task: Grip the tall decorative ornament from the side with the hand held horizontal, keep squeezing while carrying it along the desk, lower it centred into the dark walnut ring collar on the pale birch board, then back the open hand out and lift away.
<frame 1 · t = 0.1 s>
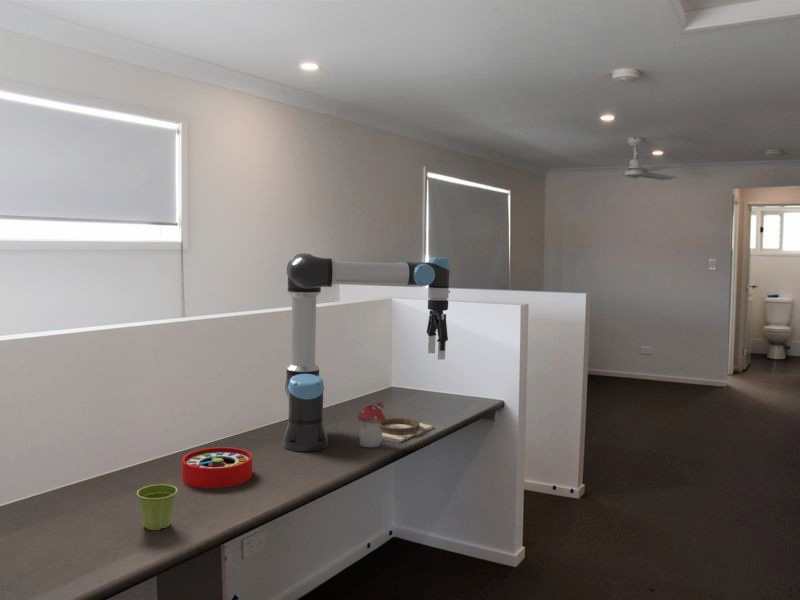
hand: (436, 356, 260), 28 cm above the table, tool pointing down, fingers open, 13 cm apart
toy clock: (217, 477, 207), on the table
plant pot: (157, 526, 171), on the table
decorative ornament: (370, 445, 241), on the table
collar board: (397, 431, 259), on the table
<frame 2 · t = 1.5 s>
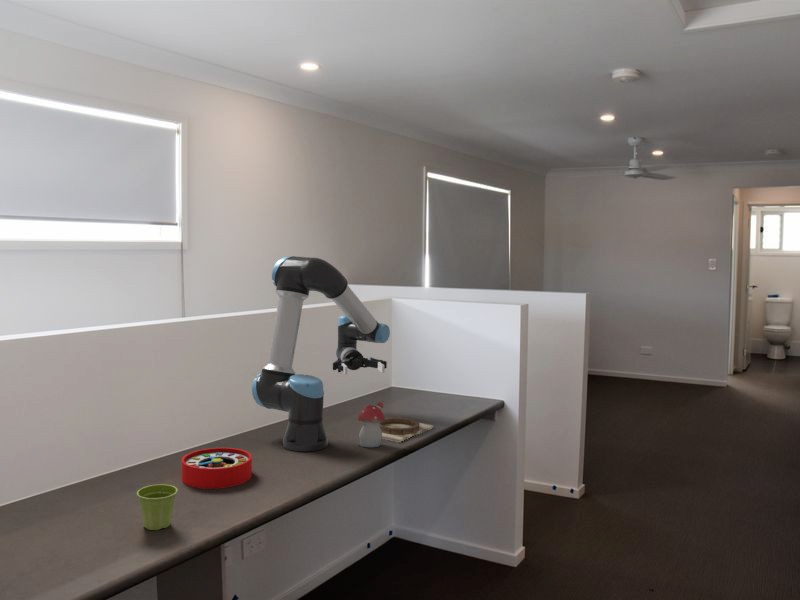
hand: (364, 369, 250), 24 cm above the table, tool horizontal, fingers open, 13 cm apart
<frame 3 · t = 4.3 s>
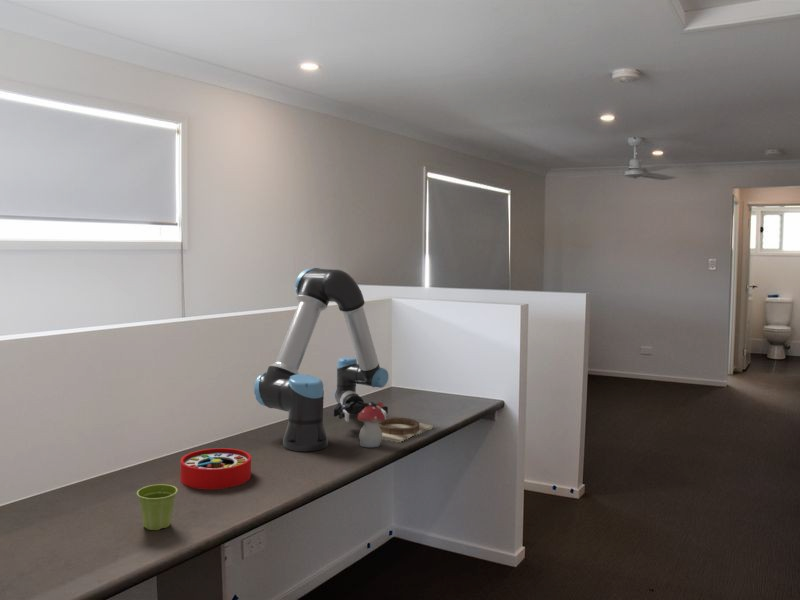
hand: (366, 416, 248), 8 cm above the table, tool horizontal, fingers open, 13 cm apart
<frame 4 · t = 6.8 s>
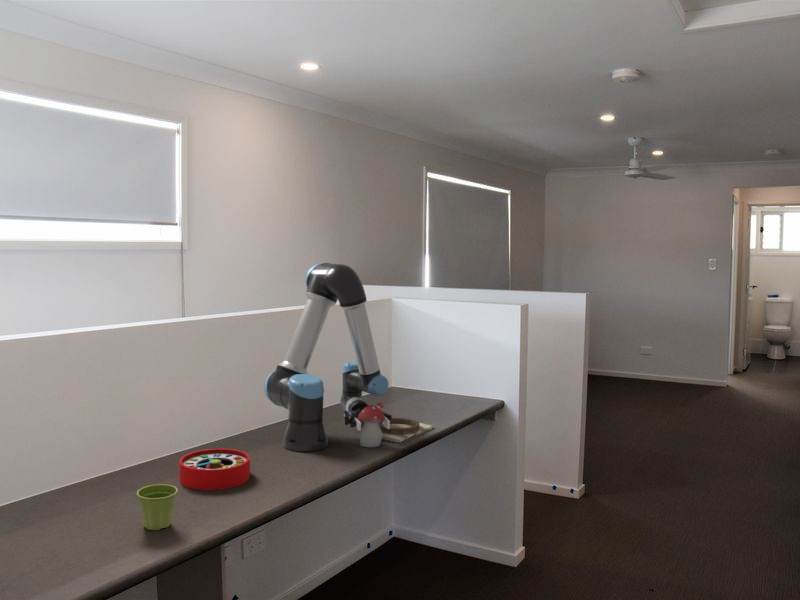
hand: (374, 425, 236), 8 cm above the table, tool horizontal, fingers closed on decorative ornament, 9 cm apart
decorative ornament: (370, 445, 241), on the table, touching gripper
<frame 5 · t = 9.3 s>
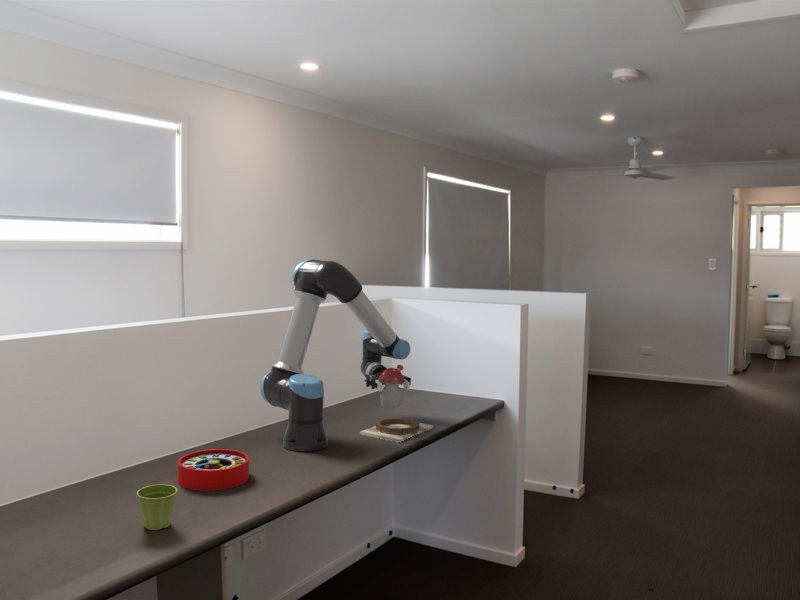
hand: (394, 386, 246), 19 cm above the table, tool horizontal, fingers closed on decorative ornament, 9 cm apart
decorative ornament: (390, 406, 251), point 11 cm above the table, touching gripper
when the fingers open (10 cm above the table, at t = 11.8 s): decorative ornament drops 1 cm, resting on collar board.
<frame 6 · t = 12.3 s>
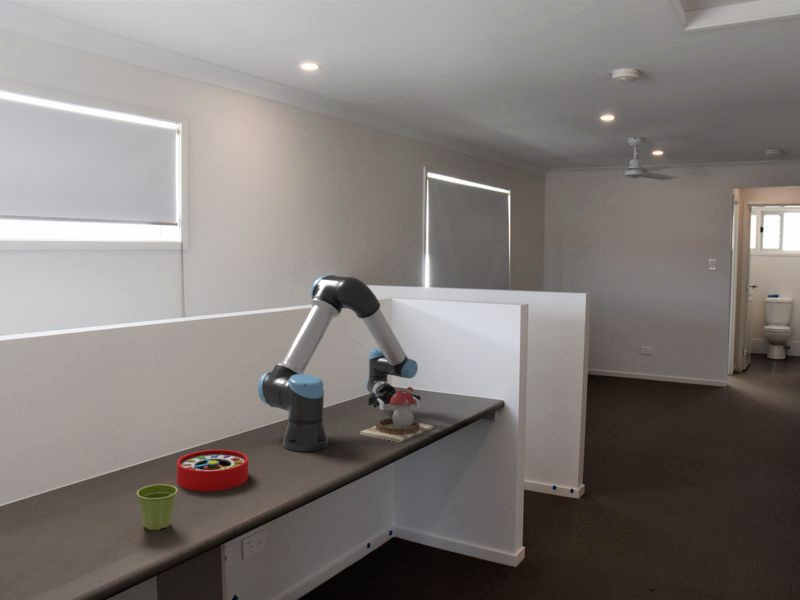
hand: (401, 405, 255), 10 cm above the table, tool horizontal, fingers open, 13 cm apart
decorative ornament: (403, 427, 260), point 1 cm above the table, touching collar board, gripper
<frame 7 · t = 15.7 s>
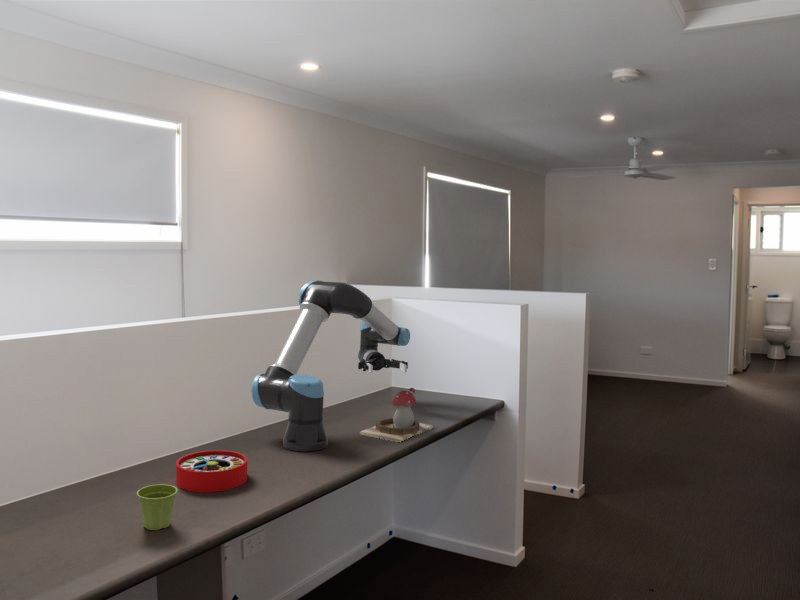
hand: (388, 369, 269), 21 cm above the table, tool horizontal, fingers open, 13 cm apart
decorative ornament: (403, 428, 260), point 1 cm above the table, touching collar board
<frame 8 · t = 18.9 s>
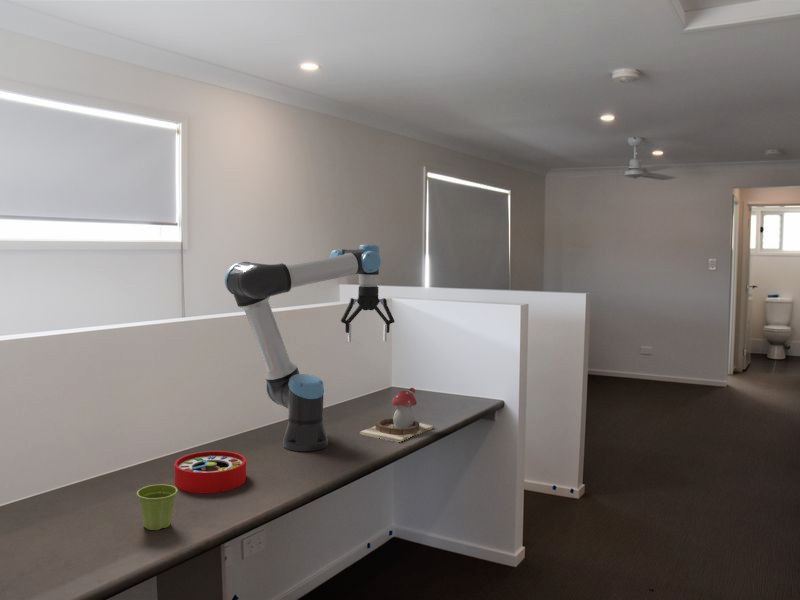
hand: (367, 341, 266), 32 cm above the table, tool pointing down, fingers open, 13 cm apart
at the end: decorative ornament 2.4 cm off-centre on the collar board, point 0.8 cm above the collar board's base; decorative ornament tilted 0°; the gripper is holding nothing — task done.
